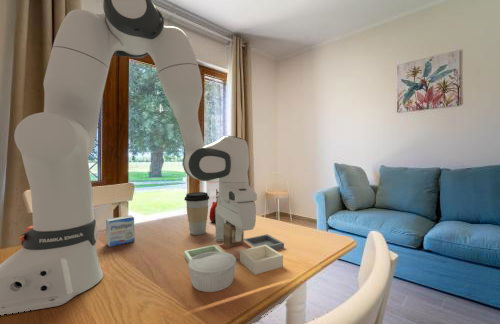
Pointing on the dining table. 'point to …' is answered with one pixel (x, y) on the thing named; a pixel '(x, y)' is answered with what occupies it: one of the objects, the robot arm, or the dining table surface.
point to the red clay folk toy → (213, 210)
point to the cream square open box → (261, 259)
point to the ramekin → (212, 271)
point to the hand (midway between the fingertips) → (233, 237)
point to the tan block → (231, 236)
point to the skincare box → (219, 227)
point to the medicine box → (120, 230)
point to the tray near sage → (200, 251)
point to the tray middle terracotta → (234, 249)
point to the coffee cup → (197, 211)
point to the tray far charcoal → (265, 241)
